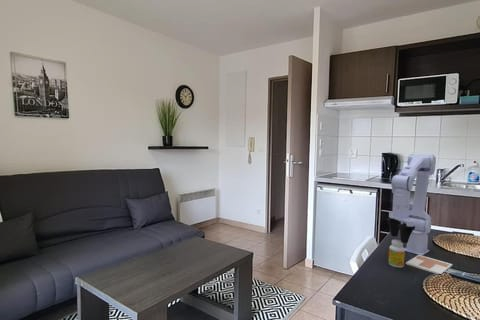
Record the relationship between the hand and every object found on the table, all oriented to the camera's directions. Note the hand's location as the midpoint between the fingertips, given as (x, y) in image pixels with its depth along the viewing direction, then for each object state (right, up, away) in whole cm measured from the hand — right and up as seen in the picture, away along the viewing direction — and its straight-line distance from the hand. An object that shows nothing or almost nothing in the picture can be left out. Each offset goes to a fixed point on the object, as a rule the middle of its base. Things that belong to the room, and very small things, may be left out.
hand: (399, 239), depth 112 cm
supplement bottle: (-1, -11, +1) cm, 11 cm away
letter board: (+13, -11, +1) cm, 17 cm away
